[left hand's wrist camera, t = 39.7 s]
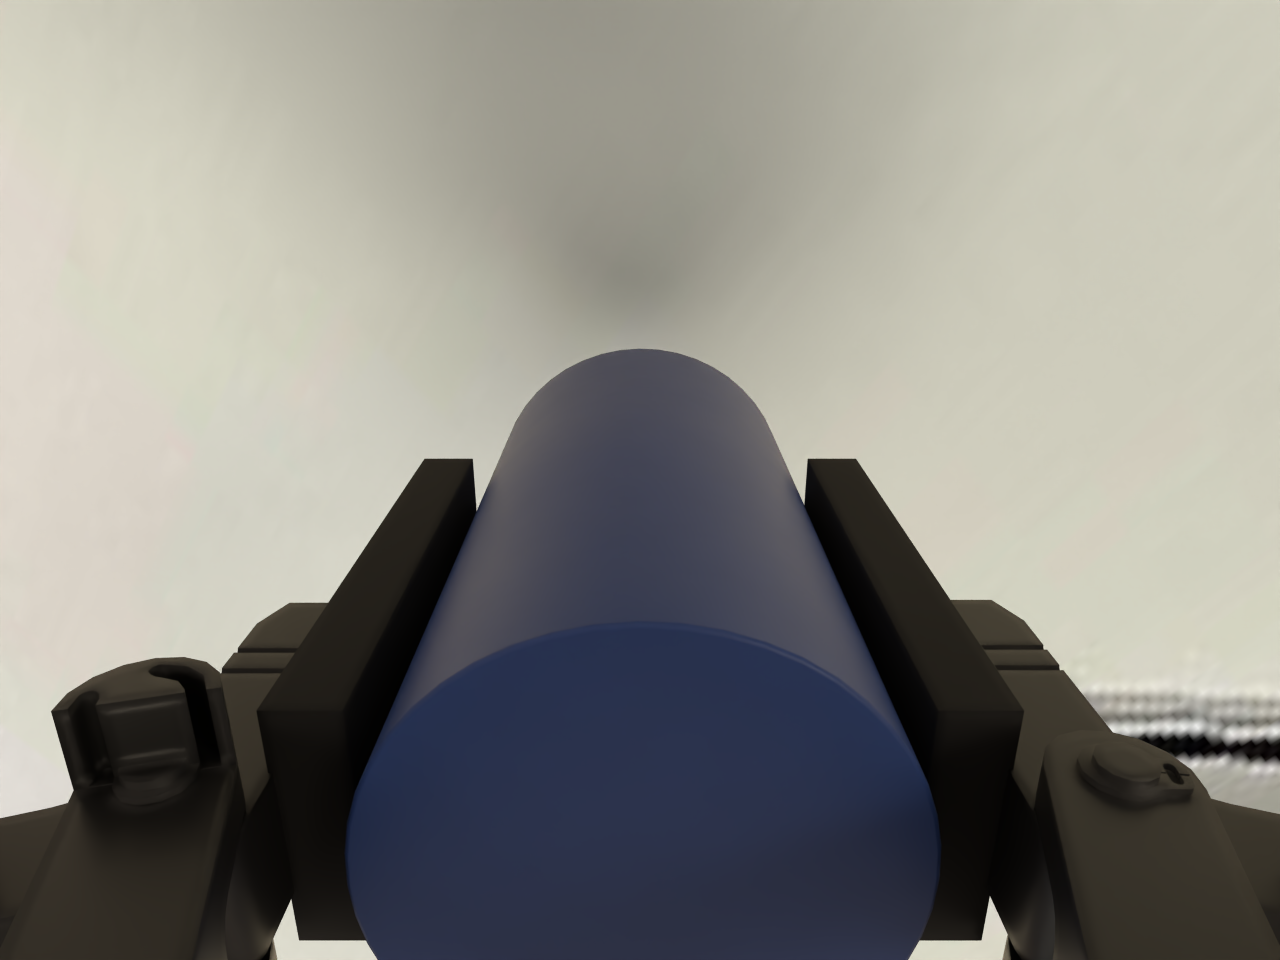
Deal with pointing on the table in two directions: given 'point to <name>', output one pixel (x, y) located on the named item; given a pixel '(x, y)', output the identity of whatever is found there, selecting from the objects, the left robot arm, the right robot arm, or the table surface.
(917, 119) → the table surface
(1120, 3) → the table surface
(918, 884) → the canister
